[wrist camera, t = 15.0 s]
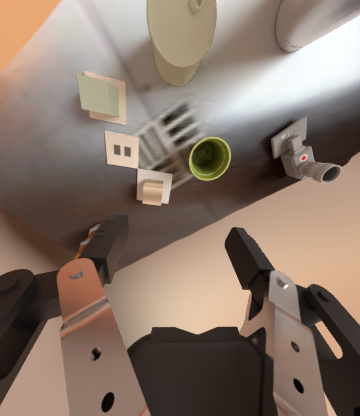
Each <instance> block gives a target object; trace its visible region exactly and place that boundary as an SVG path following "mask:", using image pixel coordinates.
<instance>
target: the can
mask: <svg viewBox="0 0 360 416" xmlns="http://www.w3.org/2000/svg"><path fill="white" fill-rule="evenodd" d="M216 18H217V8H216V0H147V23H148V28H149V33H150V36H151V40H152V44H153V49H154V60H155V64H156V67H157V70H158V72H159V74H160V76H161V77H162V78H163V79H164V81H166V82H167V83H168V84H170V85H172V86H183V85H185V84H187V83H188V82H189V81H190V80H191V79H192V78H193V77H194V75H195V73H196V71H197V69H198V66H199V64H200V62H201V60H202V58H203V56H204V55H205V54H206V52H207V50H208V49H209V47H210V44H211V42H212V39H213V36H214V32H215V27H216Z"/></svg>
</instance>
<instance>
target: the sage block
mask: <svg viewBox="0 0 360 416" xmlns="http://www.w3.org/2000/svg"><path fill="white" fill-rule="evenodd" d="M76 74H77V73H76ZM77 81H78V87H79V94H80V101H81V107H82V109H85V110H89V111H94V112H98V113H103V114H108V115H113V116H119V96H118V88H116V87H115V86H114V85H112V84H111V83H109V82H108V81H105V80H101V79H97V78H93V77H89V76H85V75H81V74H77Z"/></svg>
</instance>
